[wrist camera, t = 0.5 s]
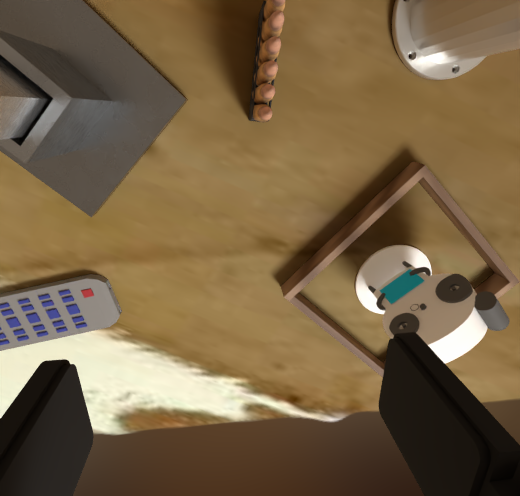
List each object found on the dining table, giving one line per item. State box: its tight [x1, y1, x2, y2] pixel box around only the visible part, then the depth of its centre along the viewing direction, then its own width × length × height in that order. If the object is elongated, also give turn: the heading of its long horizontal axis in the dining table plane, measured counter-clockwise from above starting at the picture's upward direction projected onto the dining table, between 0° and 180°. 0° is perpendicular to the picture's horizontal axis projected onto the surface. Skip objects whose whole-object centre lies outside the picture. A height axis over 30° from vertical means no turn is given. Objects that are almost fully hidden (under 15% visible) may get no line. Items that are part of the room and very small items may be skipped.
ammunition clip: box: [249, 0, 286, 122], centre depth 32 cm, size 11×2×12 cm, turn 173°
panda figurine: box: [355, 245, 509, 363], centre depth 42 cm, size 12×11×15 cm
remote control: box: [0, 274, 122, 351], centre depth 46 cm, size 8×23×2 cm, turn 101°
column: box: [0, 60, 54, 140], centre depth 28 cm, size 4×4×16 cm
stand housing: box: [0, 0, 187, 217], centre depth 31 cm, size 18×18×12 cm
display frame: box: [281, 161, 519, 377], centre depth 48 cm, size 24×24×3 cm
